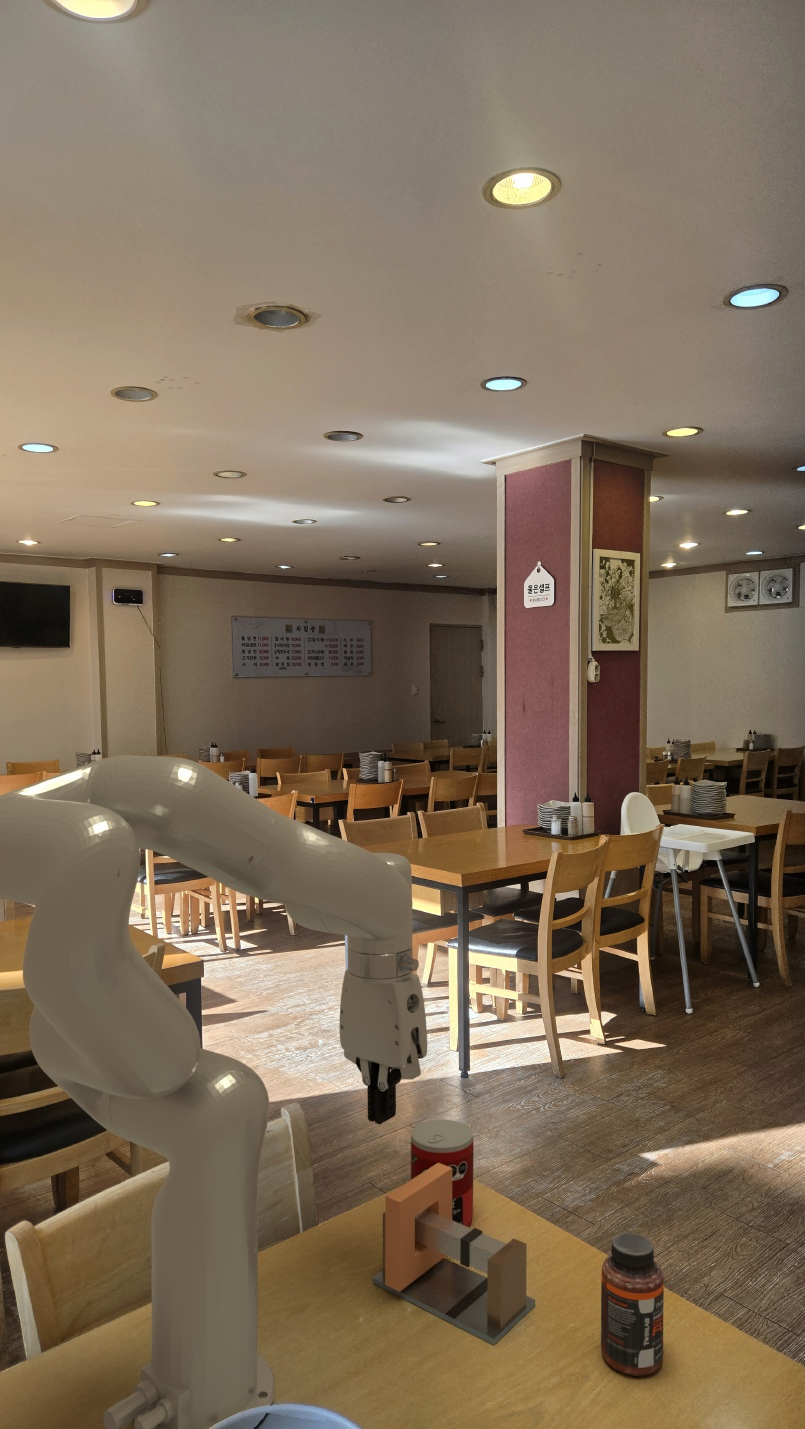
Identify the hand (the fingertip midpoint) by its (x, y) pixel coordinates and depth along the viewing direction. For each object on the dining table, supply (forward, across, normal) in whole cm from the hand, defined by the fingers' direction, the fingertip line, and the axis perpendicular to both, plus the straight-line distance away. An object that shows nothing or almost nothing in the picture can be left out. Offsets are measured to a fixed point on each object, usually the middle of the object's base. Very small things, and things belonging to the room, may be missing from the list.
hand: (381, 1118), depth 108 cm
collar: (+15, -6, +1) cm, 16 cm away
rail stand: (+16, -11, +1) cm, 19 cm away
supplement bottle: (+16, -30, -2) cm, 34 cm away
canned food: (+16, -1, -10) cm, 19 cm away
